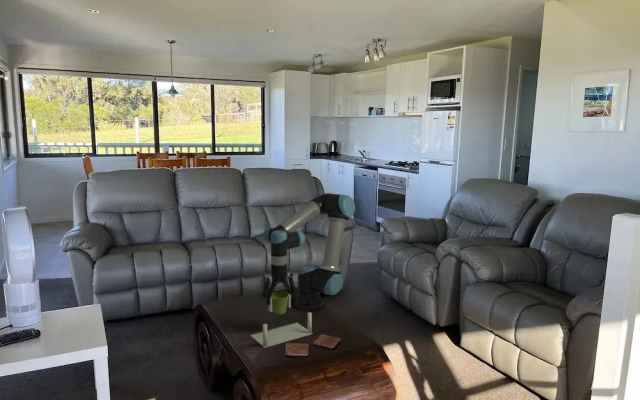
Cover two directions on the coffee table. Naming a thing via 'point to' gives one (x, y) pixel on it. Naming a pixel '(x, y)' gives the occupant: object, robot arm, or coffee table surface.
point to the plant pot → (279, 302)
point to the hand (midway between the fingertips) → (279, 308)
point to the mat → (282, 333)
